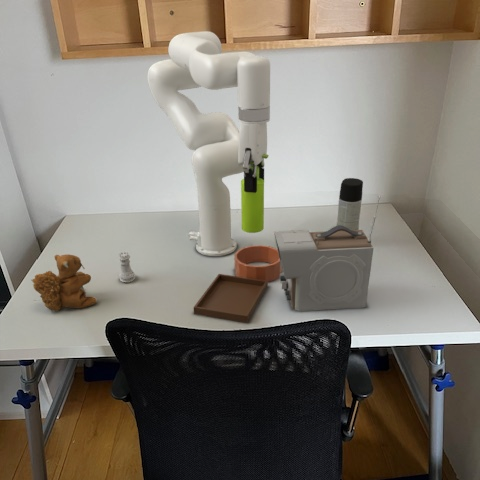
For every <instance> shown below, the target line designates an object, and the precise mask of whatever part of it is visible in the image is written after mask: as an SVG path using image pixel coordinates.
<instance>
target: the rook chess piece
mask: <svg viewBox="0 0 480 480" xmlns="http://www.w3.org/2000/svg"><path fill="white" fill-rule="evenodd" d="M117 258H118V260H119V264H120V272H119V275H118V276H119V281H120V282H122V283H124V284H130V283H133V282H134V281H135V279H136V275H135V272H134V271H133V270H132V268H131V263H130V262H131V260H130V258H131V256H130V254H129V253H128V252H127V251H124V252H123V251H122V252H120V253H119V254H118V257H117Z"/></svg>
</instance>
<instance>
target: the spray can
mask: <svg viewBox="0 0 480 480" xmlns="http://www.w3.org/2000/svg"><path fill="white" fill-rule="evenodd" d="M363 187H364V181H363V179H359V178H354V177H347V178H344V179H343V180H342V181H341V183H340V189H339V195H338V196H339V197H338V207H337V217H336V226H338V225H342V226H345V227H347V228H348V229H350V230H359V226H360V219H361V209H362V202H363Z"/></svg>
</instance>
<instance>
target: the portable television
mask: <svg viewBox="0 0 480 480" xmlns="http://www.w3.org/2000/svg"><path fill="white" fill-rule="evenodd" d="M377 198H378V200H377V204H376V207H375V212H374V216H373V219H372V223H371V226H370V232H369V236H368V237H367V234H366V233H365V232H364V230H363V229H358V230H350V229H348V228H347V227H345V226H342V225H338V226H337V225H335V226H333V227H331V228H329V229H328V230H326V231H310V230H309V229H303V230H301V229H300V230H283V231H282V230H279V231H273V235H274V239H275V244H276V249H277V250H278V254H279V259H280V263H281V266H282V273H280V277H279V283H280V284H281V290H283V291H284V295H285V296H286V301H289V304H290V307H291V310H295V311H296V312H308V311H309V312H310V311H325V310H326V311H327V310H343V309H361V308H366V307H367V301H368V293H369V286H370V276H371V270H372V263H373V255H374V247H373V245H372V235H373V230H374V226H375V222H376V221H375V220H376V218H377V217H376V215H377V212H378V207H379V204H380V201H381V200H380V199H381V195H379V196H378V197H377Z"/></svg>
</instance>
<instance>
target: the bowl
mask: <svg viewBox="0 0 480 480" xmlns="http://www.w3.org/2000/svg"><path fill="white" fill-rule="evenodd" d="M233 259H234V274H235V275H234V276H237V277H244V278H251V279H258V280H265V281H268V283H269V282H274V281H275V280H277V279H278V278H280V273H283V270H282V266H281V263H280V259H279V254H278V249H277V247H276V248H275V247H273V246H270V245H261V244H255V245H248V246H245V247H242V248H240V249H238V250H237V251H235V254H234V258H233ZM255 262H257V263H258V262H262V263H268V264H265V265H253V264H252V265H251V264H250V263H255Z"/></svg>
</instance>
